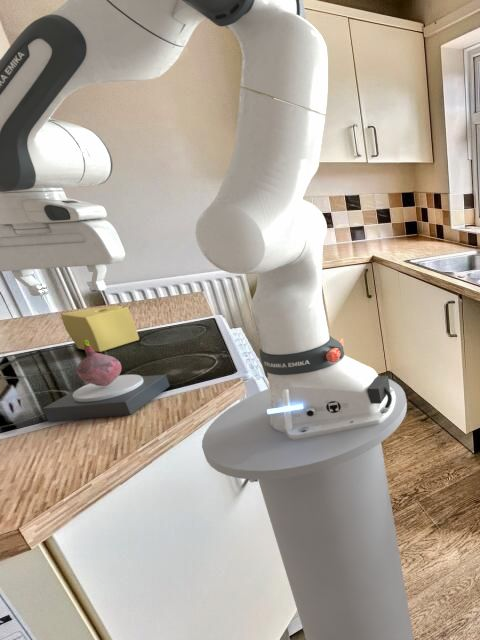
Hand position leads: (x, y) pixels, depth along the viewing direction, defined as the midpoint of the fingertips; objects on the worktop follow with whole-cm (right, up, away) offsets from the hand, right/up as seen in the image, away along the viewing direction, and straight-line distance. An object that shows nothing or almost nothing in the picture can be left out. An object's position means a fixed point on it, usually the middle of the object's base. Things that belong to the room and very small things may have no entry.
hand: (70, 292), depth 74 cm
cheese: (-33, -10, +42) cm, 55 cm away
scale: (-2, -21, +10) cm, 23 cm away
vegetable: (-2, -18, +9) cm, 20 cm away
